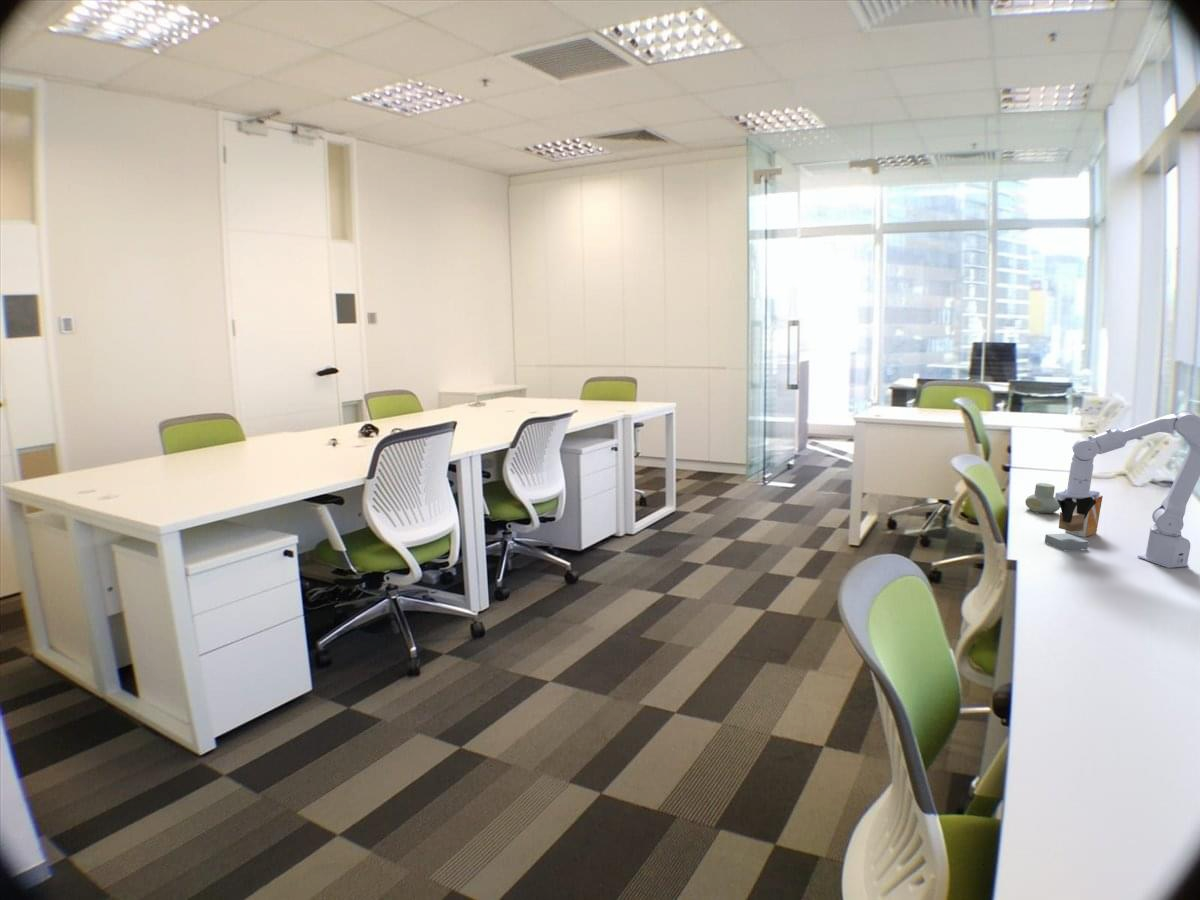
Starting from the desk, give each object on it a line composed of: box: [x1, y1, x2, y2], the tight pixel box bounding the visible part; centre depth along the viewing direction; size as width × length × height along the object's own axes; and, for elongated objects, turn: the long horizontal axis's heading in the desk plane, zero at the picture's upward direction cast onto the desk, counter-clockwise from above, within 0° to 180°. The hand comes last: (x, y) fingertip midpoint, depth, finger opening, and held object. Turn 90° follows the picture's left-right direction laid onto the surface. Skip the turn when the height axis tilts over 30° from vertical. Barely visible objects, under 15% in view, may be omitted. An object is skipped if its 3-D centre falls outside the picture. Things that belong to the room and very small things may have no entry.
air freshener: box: [1025, 482, 1061, 514], centre depth 264 cm, size 11×8×10 cm
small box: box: [1064, 494, 1103, 538], centre depth 239 cm, size 8×6×13 cm
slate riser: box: [1044, 532, 1089, 551], centre depth 227 cm, size 8×8×3 cm
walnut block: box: [1058, 511, 1084, 532], centre depth 225 cm, size 4×4×5 cm
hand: (1073, 521), depth 224 cm, fingers closed on walnut block, 4 cm apart
